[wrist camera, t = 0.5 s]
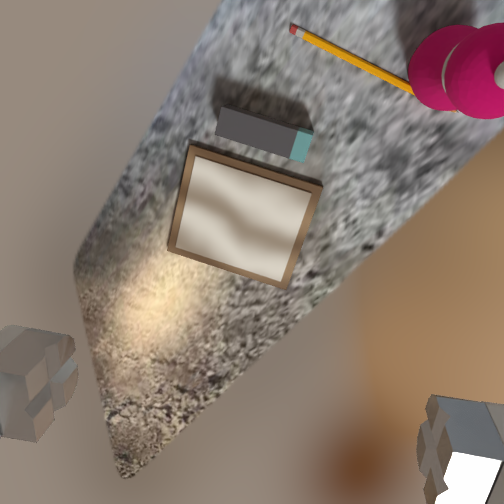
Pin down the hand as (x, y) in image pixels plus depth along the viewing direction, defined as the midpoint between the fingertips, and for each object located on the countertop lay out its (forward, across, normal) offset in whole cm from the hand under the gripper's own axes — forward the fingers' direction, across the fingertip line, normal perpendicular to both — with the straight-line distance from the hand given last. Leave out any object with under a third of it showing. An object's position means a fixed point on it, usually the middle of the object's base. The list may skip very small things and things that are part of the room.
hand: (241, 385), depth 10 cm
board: (+42, +7, +12) cm, 44 cm away
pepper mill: (+42, -12, -7) cm, 45 cm away
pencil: (+43, -6, -6) cm, 44 cm away
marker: (+42, +5, +1) cm, 43 cm away
